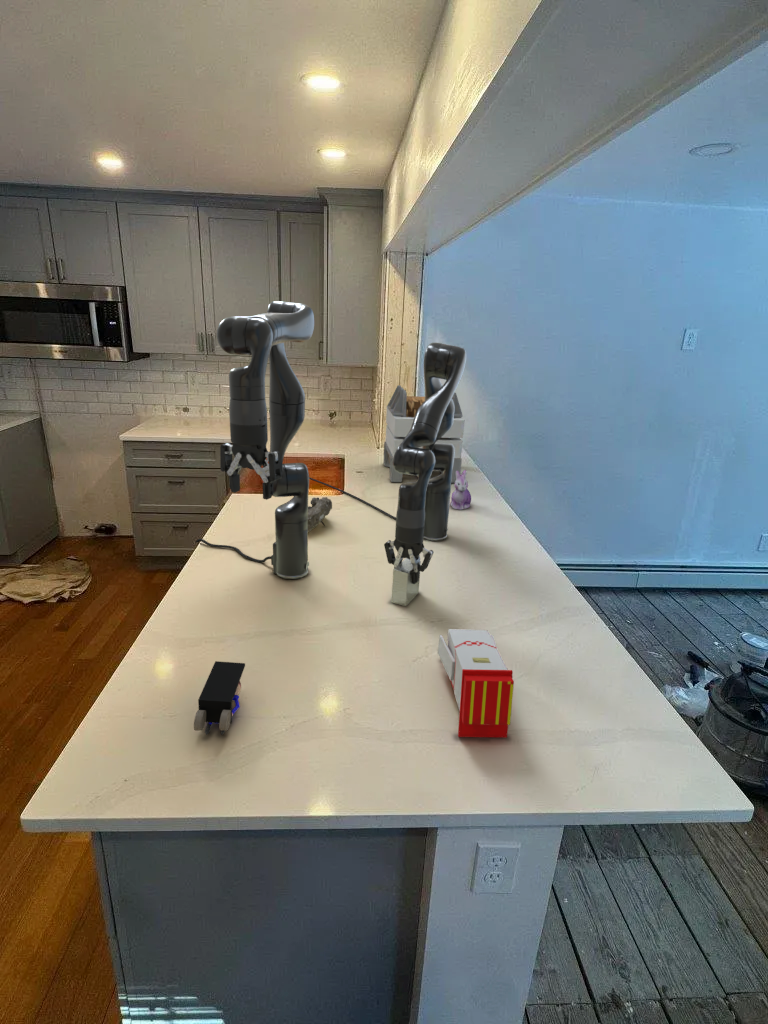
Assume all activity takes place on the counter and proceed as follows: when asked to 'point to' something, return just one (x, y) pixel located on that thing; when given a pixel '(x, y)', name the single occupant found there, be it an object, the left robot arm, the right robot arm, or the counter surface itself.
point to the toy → (478, 682)
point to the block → (404, 583)
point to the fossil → (318, 511)
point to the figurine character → (219, 696)
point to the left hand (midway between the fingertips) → (251, 495)
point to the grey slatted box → (400, 424)
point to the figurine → (461, 492)
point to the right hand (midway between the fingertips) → (406, 580)
